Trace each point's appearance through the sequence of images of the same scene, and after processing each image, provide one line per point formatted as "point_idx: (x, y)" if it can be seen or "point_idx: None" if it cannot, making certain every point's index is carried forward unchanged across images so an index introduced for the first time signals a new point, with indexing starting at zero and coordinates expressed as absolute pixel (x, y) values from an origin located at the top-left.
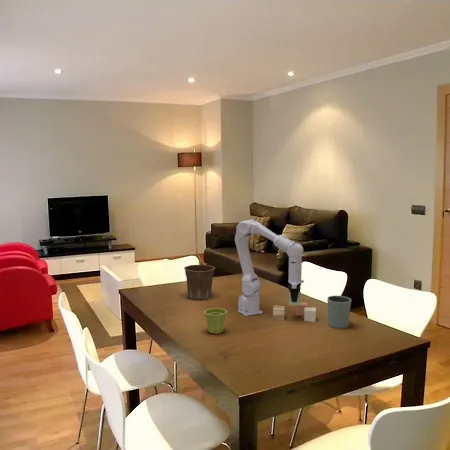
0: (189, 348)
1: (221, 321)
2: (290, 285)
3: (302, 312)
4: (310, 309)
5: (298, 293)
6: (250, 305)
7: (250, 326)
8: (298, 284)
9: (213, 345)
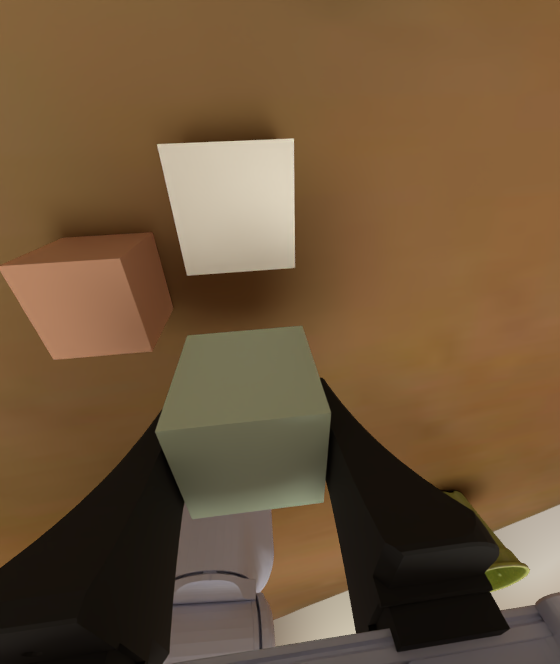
0: (553, 505)
1: (492, 534)
2: (168, 616)
3: (155, 275)
4: (246, 209)
5: (267, 440)
6: (252, 523)
7: (394, 447)
8: (115, 607)
9: (551, 477)
